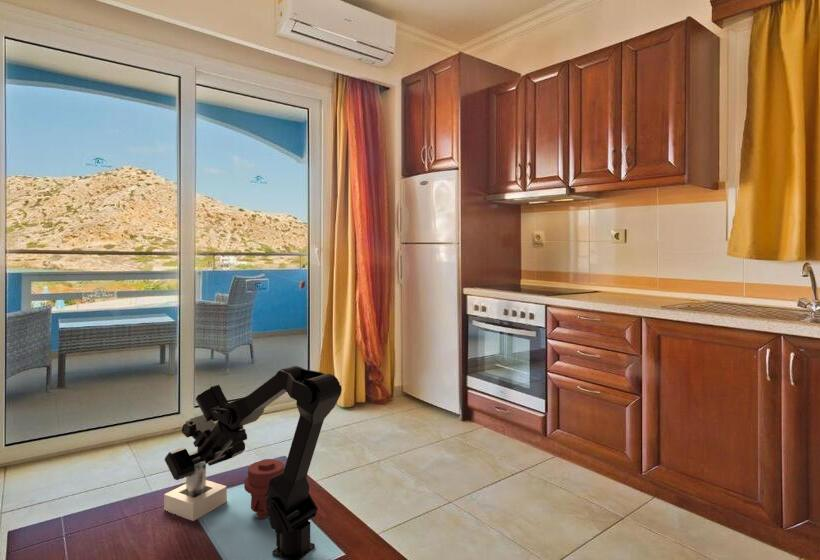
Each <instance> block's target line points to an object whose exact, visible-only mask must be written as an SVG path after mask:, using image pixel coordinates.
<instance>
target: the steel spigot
mask: <svg viewBox="0 0 820 560" xmlns="http://www.w3.org/2000/svg"><path fill="white" fill-rule="evenodd" d="M195 453H198V452H197V450H195V451H191V452H188V454H189V455H193V454H195ZM197 460H198V459H197ZM206 474H207V464H206V462H205V461H204V462H202V463H199V464H197V465H194V472H193V473H191V475H190V476H187V477H185V479H186V480H185V482H186V483H185V484H186V495H187V496H190V497H193V498H195V497H197V496H199V495H201V494H203V493H205V492H206V480H207V475H206Z"/></svg>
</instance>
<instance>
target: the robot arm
mask: <svg viewBox="0 0 820 560" xmlns="http://www.w3.org/2000/svg"><path fill="white" fill-rule="evenodd" d="M342 388H343V387H342V385H341V383H340V381H339V379H338V378H337V377H336V376H335V375H334V374H331V373H324V372H321V371H316V370H311V369H305V368H303V367H301V366H299V365H292V366H289V367H285V368H281V369H280V370H278V371H277V372H276V374H275V375H273V376H272V377H270V378H269V379H268V380H267V381H265V382H264V383H262V385H260V386H258V388H256V389H254V390H253V391H252V392H250V393H249V394H248V395H246V396H243V397H241V398H238V399H235V400H232V401H230V402H229V401H228V399H227V398H226V396H225V394H224V392H223V390H222V388H221V385H220V384H215V385H212V386H210V388H208V389H206V390H204V391H203V392H201V393H200V394H198V395H197V396H196V397H195V401H196V404H197V405H198V407H199V409H200V410H201V412H202V414H201V415H198V416H196V417H192V418H190V419H189V420H186V421H185V423H183V425H182V427H181V433H182V434H183V436H185V437H186V438H190V437H192V438H193V439H194V441H193V446H194V447H195V448H197V450H196V451H197V452H198V453H195V454H193V455H189V454H188V453H189V451H188V449H187V448H186V447H180V448H177V449H175V450H172V451H169V452H168V453H167V454H166V455H165V458H164V462H165V464H166V465H167V468H168V470H169V471H170V474H171V476H172V478H173V480H175V481H179V480H183V479H184V478H185V479H186V477H187V476H190V475H191V473H193V472H194V465H197V464H199V463H202V462H204V461H205V462H206V465H208V466H209V467H210V466H213V465H217V464H218V463H222V462H224V461H227V460H230V459H232V458H235V457H237V456H238V455H241V454H242V453H243V452H244V451H245V450H246V443H245V441H246V440H248V434H247V431H246V429H245V428H244V426H246V425H249V424H252V423H254V422H256V421H258V420H259V419H260V417H262V415H263V414H264V411H265V409H266V407H268V406H269V405H270V404H272V403H273V402H274V401H276V400H278V399H279V398H280V397H281V396H283V395H284V394H286V393H287V394H288V396H289V398H290V399H293V400H295V401H296V404H295V405H296V407H297V411H298V413H299V418H298V421H297V425H296V427H295V431H294V435H293V438H292V441H291V444H290V447H289V452H288V455H287V459H286V463H285V464H284V471H283V473H281V474H279V475H277V476H275V477H273V478H271V480H270V482H269V488H268V491H267V493H266V494H265V496H267V499H266V506H267V511H268V515H267V516H268V519H269V520H268V521H269V523H270V528H271V529H273V530H274V531H275V533H276V535H275V536H276V537H275V539H276V542H275V545H276V548H274V549H273V550H272V551H271V553H272V556H276V557H278V558H281V559H283V560H302V559H303V558H304V557H305V556H307V554H309V553H310V552H311V551H312V550H313V549H314V548H315V547H316V544H315V543H313V542H311V521H310V520H311V519H313V518H316V517H317V514H318V510H319V507H318V506H317V504H316V503H315V501H314V500H313V497H312V496H311V494H310V489H311V488H310V484H309V481H308V477H307V476H308V473H309V470H310V466H311V463H312V459H313V456H314V453H315V450H316V447H317V443H318V440H319V436H320V433H321V430H322V427H323V423H324V421H325V419H326V417H328V415H329V414H330V413H331V412H332V411H333V409H334V408H335V406H336V405H337V403H338V401H339V399H340V397H341V395H342V391H343V389H342ZM215 422H216V423H215ZM197 459H198V460H197Z"/></svg>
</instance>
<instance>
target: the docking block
mask: <svg viewBox="0 0 820 560" xmlns="http://www.w3.org/2000/svg"><path fill="white" fill-rule="evenodd" d="M227 494H228V486H227V485H224V484H220V483H218V482H217V483H216V482H214V481H212V480H211V481H210V480H208V479H206V492H205V493H203V494H201V495H199V496H197V497H195V498H193V497H190V496H187V495H186V483H184V484H183V485H180V486H179V487H176V488H175V489H172V490H170V491H168V492H166V493H164V494H163V495H164V496H163V499H164V500H163V501H164V503H163V504H164V505H163V506H164V508H163V509H164V511H165V510H166V511H165V512H167V511H168V512H167V513H170V514H173V515H175V514H176V515H175V516H178V517H181V518H183V519H187V520H188V521H193V522H194V521H196V520H197V519H199V518H201V517H202V516H204V515H207V514H208V513H209V512H212V511H214V510H215V509H217V508H219V507H221V506H222V505H224V504H225V503H227V502H228V500H227V499H228V498H227V497H228V495H227Z"/></svg>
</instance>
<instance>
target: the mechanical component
mask: <svg viewBox="0 0 820 560" xmlns="http://www.w3.org/2000/svg"><path fill="white" fill-rule="evenodd" d="M284 468H285V463H283V462H282V461H281V460H278V459H271V458H265V459H261V460H258V461H255V462H254V463H251V464H250V465H249V466H248V468H247V477H246V478H245V480H244V482H243V483H244V487H243V488H244V490H245V491H246V492H247V493H248V494H250V496H251V498H250V500H251V501H250V509H251V510H252V512H255V513H256V514H257V515H256V516H257V517H256V518H257V519H259V520H262V519H265V517H267V516H268V511H267V506H266V499H267V496H265V494H266V493H267V491H268V488H269V482H270V480H271V478H273V477H275V476H277V475H279V474H281V473H283V471H284Z"/></svg>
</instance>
